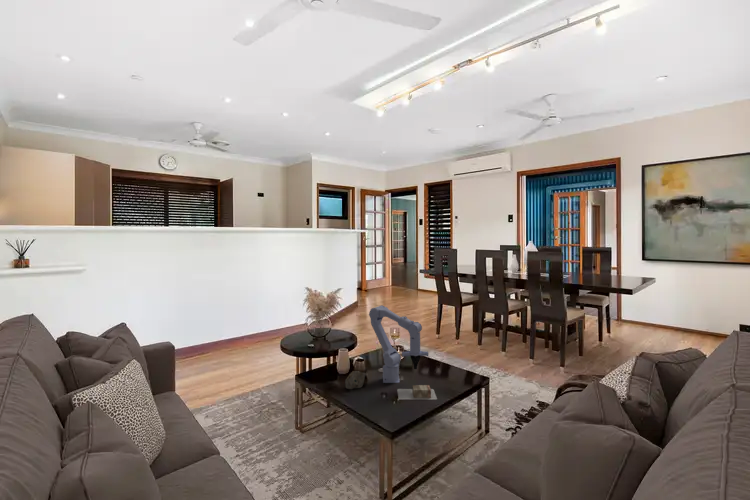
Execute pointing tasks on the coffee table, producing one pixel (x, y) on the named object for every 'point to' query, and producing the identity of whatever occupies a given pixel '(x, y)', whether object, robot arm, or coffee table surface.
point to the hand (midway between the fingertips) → (415, 368)
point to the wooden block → (421, 391)
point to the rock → (355, 380)
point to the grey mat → (408, 395)
